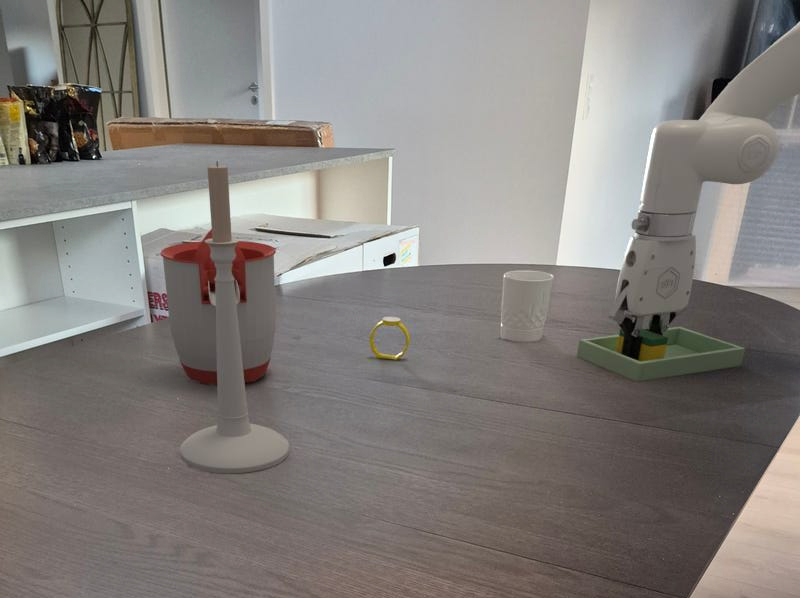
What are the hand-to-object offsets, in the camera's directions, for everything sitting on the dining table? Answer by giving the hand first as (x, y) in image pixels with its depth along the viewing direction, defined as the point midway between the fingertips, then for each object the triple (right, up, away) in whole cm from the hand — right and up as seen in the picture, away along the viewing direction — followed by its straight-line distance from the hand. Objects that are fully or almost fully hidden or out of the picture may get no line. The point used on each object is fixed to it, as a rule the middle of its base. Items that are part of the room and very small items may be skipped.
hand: (638, 359), depth 127 cm
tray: (+3, 0, +2) cm, 4 cm away
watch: (-37, +1, +5) cm, 38 cm away
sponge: (0, 0, 0) cm, 0 cm away
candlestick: (-58, -20, -27) cm, 67 cm away
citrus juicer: (-61, -4, -3) cm, 62 cm away
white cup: (-15, +8, +14) cm, 21 cm away
